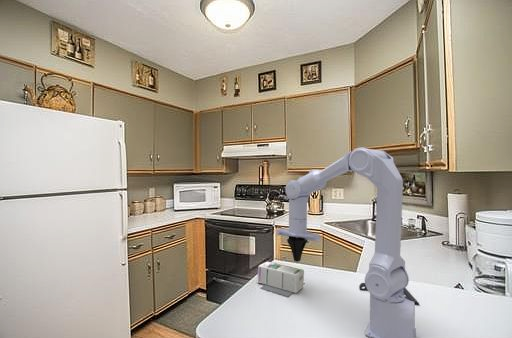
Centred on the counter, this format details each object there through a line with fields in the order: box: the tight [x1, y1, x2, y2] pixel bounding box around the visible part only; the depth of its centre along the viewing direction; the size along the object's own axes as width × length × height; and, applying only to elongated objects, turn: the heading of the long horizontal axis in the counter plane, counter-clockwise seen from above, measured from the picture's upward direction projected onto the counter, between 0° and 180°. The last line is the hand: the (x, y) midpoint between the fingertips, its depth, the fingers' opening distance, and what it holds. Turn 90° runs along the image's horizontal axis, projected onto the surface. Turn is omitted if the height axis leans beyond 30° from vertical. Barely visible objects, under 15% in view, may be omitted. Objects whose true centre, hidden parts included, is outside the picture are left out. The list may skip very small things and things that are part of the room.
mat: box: [260, 282, 305, 298], centre depth 86 cm, size 10×12×1 cm
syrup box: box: [257, 261, 305, 294], centre depth 86 cm, size 6×6×14 cm
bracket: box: [358, 282, 420, 307], centre depth 83 cm, size 14×15×3 cm
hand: (297, 260), depth 83 cm, fingers closed
